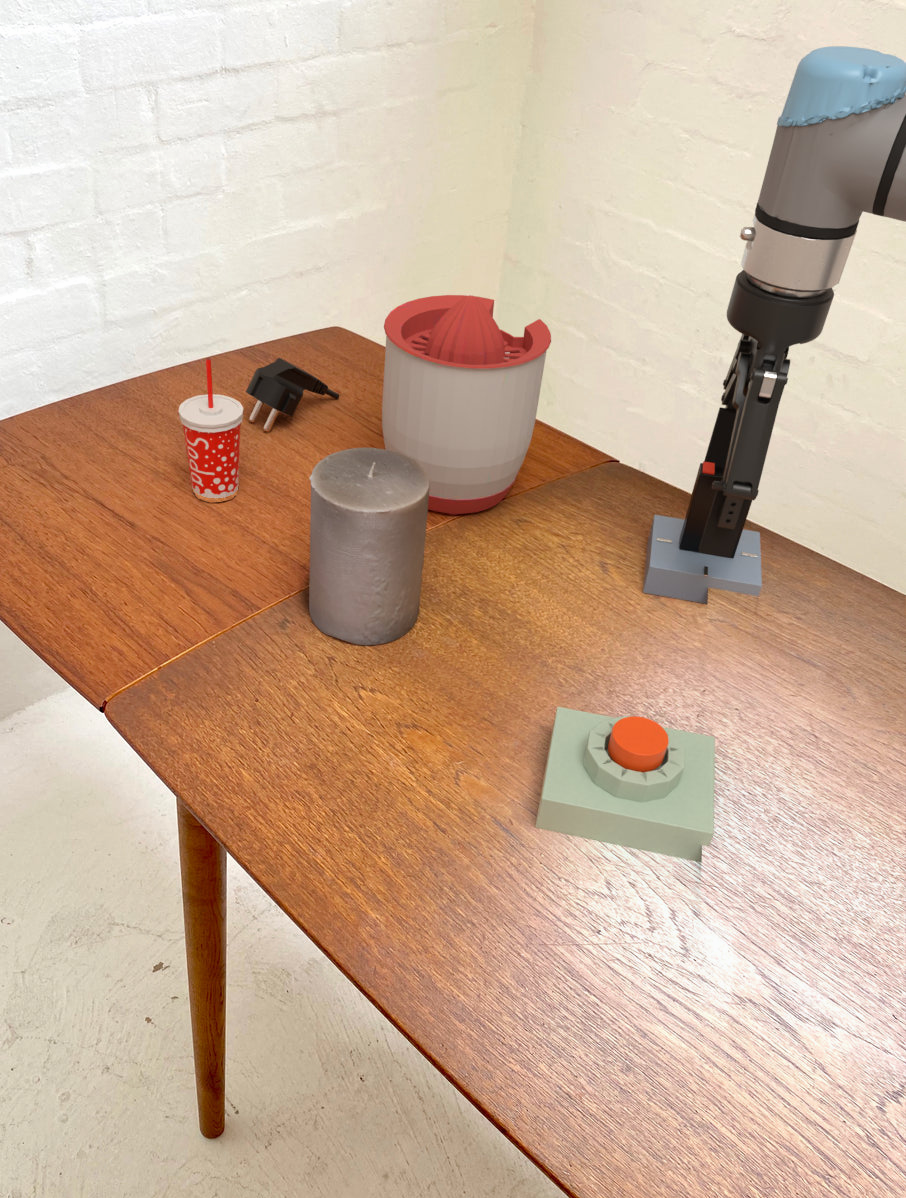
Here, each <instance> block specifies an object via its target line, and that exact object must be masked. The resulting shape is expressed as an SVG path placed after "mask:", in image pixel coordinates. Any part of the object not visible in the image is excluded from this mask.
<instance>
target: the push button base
mask: <svg viewBox="0 0 906 1198" xmlns="http://www.w3.org/2000/svg"><path fill="white" fill-rule="evenodd" d="M626 717H632V715H622V716H609V715H604V714H598V713H595V712H588V711H582V710H578V709H572V708H567V707H563V706H557V707H556V710H555V715H554V720H553V723H552V724H553V725H552V729H551V734H550V738H549V739H550V740H549V745H548V750H547V757H546V762H545V768H544V774H543V778H542V785H541V791H540V797H539V803H538V808H537V814H536V819H535V826H534V828H535V829H538V830H544V831H549V832H552V833H553V832H554V833H558V834H563V835H567V836H573V837H578V838H581V839H582V838H583V839H587V840H591V841H596V842H602V843H606V844H611V845H615V846H619V847H620V846H621V847H626V848H630V849H633V850H640V851H644V852H649V853H654V854H659V855H663V856H668V857H673V858H678V859H683V860H687V861H693V862H697V863H702V862H703V846H704V847H710V845H711V843H712V840H713V837H714V834H715V783H716V782H715V779H716V778H715V777H716V776H715V774H716V771H715V770H716V737H715V736H711V735H707V734H702V733H697V732H691V731H686V730H683V729H676V728H672V727H671V728H670V727H665V726H663V725H661V724H659V725H660V726H661V727H662V728H663V729H664V730H665V731H666V733H667V735H668V739H669V742H668V746H667V749H666V753H665V756H664V759H663V762H662V764H661V765H660V766H659V767H658V768H656V769H655V770H652V771H649V772H638V771H633V770H628V769H625V768H623V767H621V766H620V765H618V764H617V763H615V762H614V761H613V760H612V758H611V757H610V755H609V752H608V744H609V740H610V736H611V732H612V729H613V726H614V725H615V723H616V722H617V721H619V720H620V719H623V718H626Z"/></svg>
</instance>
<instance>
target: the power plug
mask: <svg viewBox="0 0 906 1198" xmlns="http://www.w3.org/2000/svg"><path fill="white" fill-rule="evenodd" d="M305 390H306V391H307V392H310V393H314V394H317V395H321V396H326V395H327V396H329V397H330V398H332V399H335V400H338V399H339V398H340V394H339V393H338V392H336V391H334V390H332V389H330V388H329V386H328V385H327V384H326V383H324V382H323V381H321V380H320V379H319V378H318V377H316V376H314V375H312V373H309V372H307V371H306V370H304V369H301V367H299V366H296V365H294V364H292V363H291V362H289V361H287V360H284V359H283V358H280V357H278V358H275V360H274V361H273V362H271V363H269V364H267V365H265V366H263V367H258V368H256V370H255V371H254V374H253V376H252V377H251V380H250V382H249V384H248V386H247V387H246V390H245V393H246V394H247V395H249V396H251V397H252V398H254V399H256V400H257V401H256V402H255V404H254V407H253V410H252V411H251V413H250V416H249V418H248V421H249V423H251V422H252V423H251V424H254V423H256V421H257V419H258V417H259V415H260V413H261V411H262V409H263V407H264V405H266V406H268V407H270V408H272V409H271V410H270V413H269V415H268V417H267V419H266V421H265V423H264V425H263V427H262V429H263V431H264V432H265V431H269V432H271V429H272V427H273V425H274V423H275V421H276V419H277V418H278V415H279V413H280V412H281V413H282V414H284V415H285V416H289V417H291V418H293V417H294V415H295V414H296V410H297V409H298V407H299V404H300V403H301V401H302V399H303V396H304V391H305ZM253 422H254V423H253Z"/></svg>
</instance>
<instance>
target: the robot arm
mask: <svg viewBox="0 0 906 1198" xmlns="http://www.w3.org/2000/svg"><path fill="white" fill-rule="evenodd" d="M776 125H777V126H776V129H775V134H774V139H773V142H772V145H771V150H770V154H769V157H768V161H767V164H766V165H767V166H766V169H765V173H764V176H763V180H762V184H761V188H760V192H759V196H758V200H757V202H756V206H755V209H754V215H753V219H752V225H753V226H744V227H743V228H741V230H740V234H739V238H740V239H741V240H743V241H746V244H745V246H744V250H743V254H742V256H741V257H742V258H741V261H740V262H741V263H740V265H741V268H742V270H741V271H740V272H739V273H738V274H737V275H736V277H735V280H734V284H733V287H732V291H731V295H730V298H729V302H728V305H727V310H726V320H727V322H728V324H729V325H730V326H731V327H732V328H733V329H734V330H735V331H737V332H738V333H740V334H741V336H740V339H739V341H738V343H737V347H736V350H735V352H734V355H733V358H732V360H731V363H730V366H729V368H728V371H727V374H726V377H725V379H724V380H723V381H722V382H723V383H722V386H723V387H722V388H723V390H724V392H723V393H722V395H721V398H720V401H721V406H725V407H721V406H720V407H719V408H718V412H717V416H716V420H715V423H714V426H713V429H712V433H711V437H710V439H709V443H708V446H707V449H706V454H705V457H704V462H711V463H715V465H717V466H723V467H725V471H724V476H723V480H721V482H720V481H714V482H713V483H712V489H714V490H716V493H715V496H714V500H713V503H712V506H711V510H710V513H709V516H708V520H707V523H706V526H705V529H704V533H703V536H702V539H701V543H700V546H699V553H705V554H711V555H716V556H722V557H728V558H731V555H732V552H733V549H734V546H735V543H736V540H737V537H738V534H739V531H740V528H741V525H742V522H743V519H744V516H745V513H746V510H747V507H748V504H749V501H750V500H752V501H755V500H756V499H757V497H758V495H759V491H760V489H759V488H760V487H759V486H760V482H761V479H762V474H763V471H764V466H765V462H766V459H767V454H768V452H769V451H768V450H769V446H770V442H771V438H772V434H773V430H774V426H775V422H776V418H777V414H778V410H779V407H780V402H781V399H782V396H783V393H784V390H785V386H786V385H787V384H788V380H789V379H788V378H789V377H788V375H789V370H790V366H791V359H790V358H789V359H788V355H789V351H790V347H792V346H796V345H798V344H799V345H804V344H807V343H810V342H812V341H814V340H816V339H817V338H818V337H820V335H821V334H822V332H823V330H824V326H825V324H826V321H827V318H828V315H829V311H830V308H831V306H832V303H833V300H834V297H835V292H834V291H835V290H834V289H833V288H834V287H835V286H837V285H839V284H840V281H841V278H842V276H843V273H844V269H845V266H846V263H847V261H848V258H849V256H850V252H851V249H852V247H853V243H854V240H855V238H856V235H857V232H858V230H857V229H858V226H859V223H860V218H861V216H862V214H863V212H864V213H868V214H870V215H871V214H872V215H875V216H879V217H883V218H889V219H892V220H897V221H900V222H905V223H906V61H904V60H903V59H901V57H898V56H896V55H893V54H890V53H882V52H880V51H879V50H875V49H870V48H864V47H857V46H842V45H841V46H839V45H831V46H822V47H819V48H816V49H813V50H811V51H810V52H809V53H808V54H806V55H805V56H803V57H802V58H801V59H800V61H799V62H798V64H797V67H796V70H795V73H794V76H793V78H792V82H791V85H790V88H789V91H788V93H787V97H786V100H785V103H784V106H783V109H782V111H781V115H780V116H778V118H777V122H776Z"/></svg>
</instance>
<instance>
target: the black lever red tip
mask: <svg viewBox="0 0 906 1198" xmlns="http://www.w3.org/2000/svg"><path fill="white" fill-rule="evenodd" d="M724 471H725V467H723V466H717V465H715V463H711V462H704V461H703V462H700V464H699V467H698V470H697V473H696V478H695V480H694V485H693V488H692V492H691V496H690V499H689V503H688V506H687V510H686V513H685V517H684V524H683V528H682V531H681V535H680V541H679V549H682V550H688V551H693V552H699V546H700V543H701V539H702V536H703V533H704V529H705V526H706V523H707V520H708V516H709V513H710V510H711V506H712V503H713V500H714V496H715V493H716V490H714V489H712V483H713V482H714V481H720V482H721V480H723V476H724ZM752 503H753V500H750V501H749V504H748V507H747V510H746V513H745V516H744V519H743V522H742V525H741V528H740V531H739V534H738V537H737V540H736V543H735V546H734V549H733V552H732V555H731V558H734V556H735V553H736V550H737V547H738V543H739V540H740V537H741V534H742V531H743V529H744V528H745V525H746V521H747V518H748V516H749V512H750V509H751V506H752Z"/></svg>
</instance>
